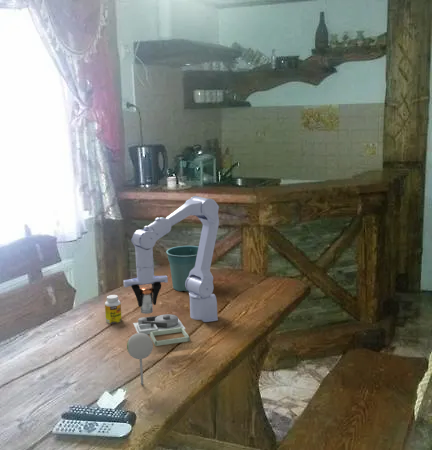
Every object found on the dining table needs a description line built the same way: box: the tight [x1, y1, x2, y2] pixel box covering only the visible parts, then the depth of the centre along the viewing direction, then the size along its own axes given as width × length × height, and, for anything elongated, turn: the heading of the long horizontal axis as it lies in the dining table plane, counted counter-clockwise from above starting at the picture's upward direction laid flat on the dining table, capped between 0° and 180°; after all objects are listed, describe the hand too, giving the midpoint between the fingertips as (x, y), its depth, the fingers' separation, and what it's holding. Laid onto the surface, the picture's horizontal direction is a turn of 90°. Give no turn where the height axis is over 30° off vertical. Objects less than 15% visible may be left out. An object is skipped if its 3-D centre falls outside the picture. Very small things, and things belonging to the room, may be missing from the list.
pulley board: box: [132, 313, 186, 335], centre depth 209 cm, size 16×12×4 cm
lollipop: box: [126, 332, 154, 386], centre depth 167 cm, size 7×7×15 cm
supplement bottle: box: [104, 294, 123, 325], centre depth 214 cm, size 6×6×10 cm
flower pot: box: [165, 245, 199, 293], centre depth 253 cm, size 16×16×16 cm
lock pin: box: [140, 286, 154, 315], centre depth 203 cm, size 5×5×8 cm
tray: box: [149, 327, 191, 347], centre depth 198 cm, size 11×9×2 cm
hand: (147, 304), depth 203 cm, fingers closed on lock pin, 4 cm apart
